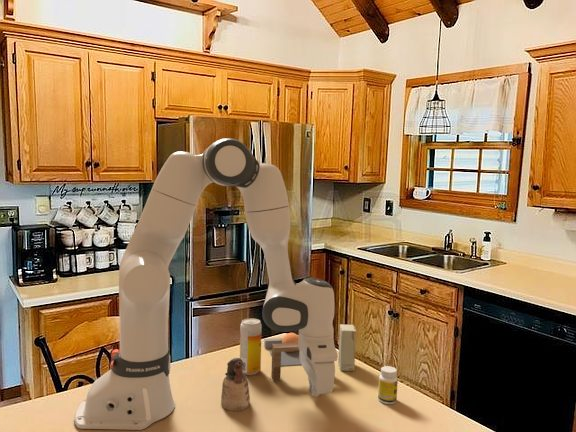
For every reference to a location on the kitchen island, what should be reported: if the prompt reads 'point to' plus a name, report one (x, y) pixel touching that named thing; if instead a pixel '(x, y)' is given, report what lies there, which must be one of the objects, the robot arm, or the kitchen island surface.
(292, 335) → the ball
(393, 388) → the supplement bottle
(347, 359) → the skincare box
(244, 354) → the beer can
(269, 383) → the kitchen island surface
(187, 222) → the robot arm
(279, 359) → the bridge
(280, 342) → the stopper
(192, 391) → the kitchen island surface
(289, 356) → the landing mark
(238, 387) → the figurine
